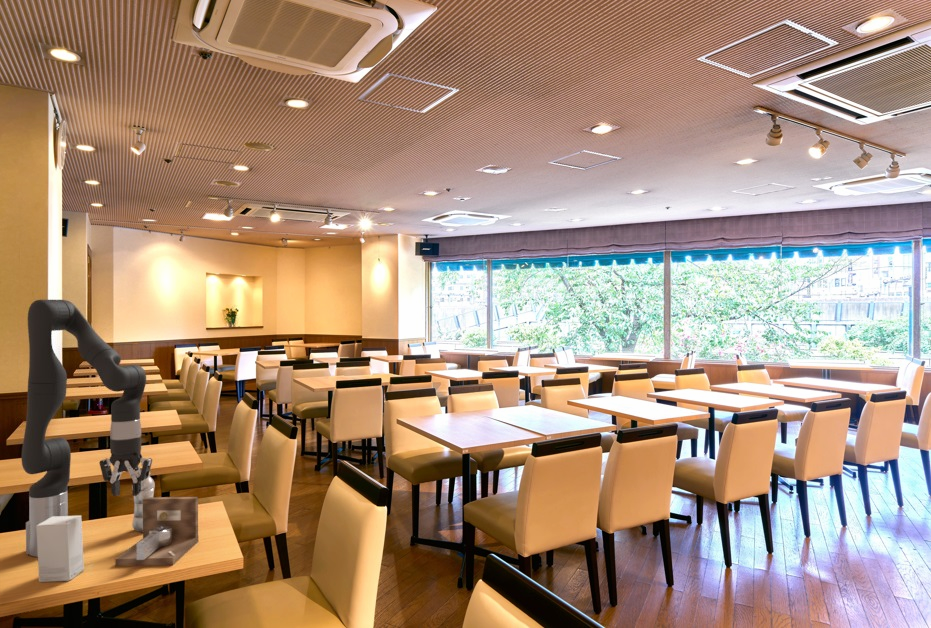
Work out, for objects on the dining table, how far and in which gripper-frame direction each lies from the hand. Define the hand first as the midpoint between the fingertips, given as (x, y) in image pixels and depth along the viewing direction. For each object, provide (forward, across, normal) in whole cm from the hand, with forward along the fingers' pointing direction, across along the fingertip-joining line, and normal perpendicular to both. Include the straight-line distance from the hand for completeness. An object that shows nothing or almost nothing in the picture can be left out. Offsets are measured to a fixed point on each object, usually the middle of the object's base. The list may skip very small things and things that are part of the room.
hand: (126, 494), depth 160 cm
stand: (+19, +6, +6) cm, 21 cm away
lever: (+17, +6, +3) cm, 18 cm away
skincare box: (+20, -13, -8) cm, 25 cm away
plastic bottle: (+20, -8, +24) cm, 32 cm away
